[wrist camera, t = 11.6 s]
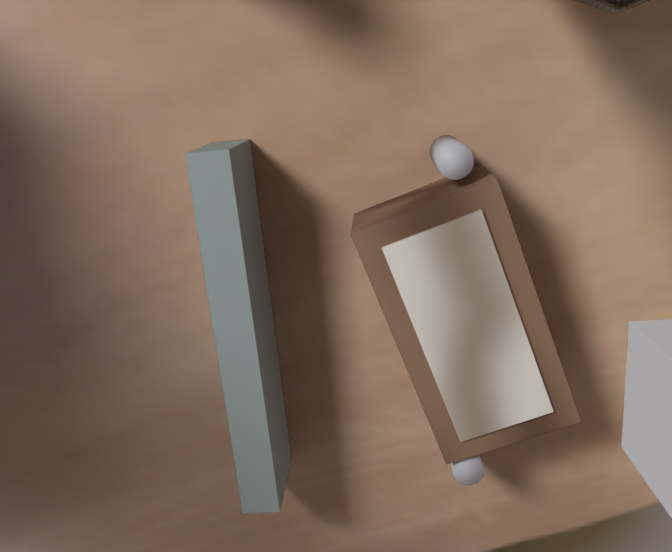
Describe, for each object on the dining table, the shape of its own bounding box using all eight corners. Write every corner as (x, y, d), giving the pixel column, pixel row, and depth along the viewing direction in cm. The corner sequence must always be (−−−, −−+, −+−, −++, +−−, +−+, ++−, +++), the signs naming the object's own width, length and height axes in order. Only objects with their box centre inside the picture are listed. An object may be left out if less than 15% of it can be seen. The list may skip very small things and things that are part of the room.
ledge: (259, 460, 39) (242, 513, 34) (211, 142, 34) (184, 153, 29) (472, 449, 38) (486, 503, 33) (460, 119, 32) (474, 126, 28)
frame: (437, 415, 38) (447, 466, 33) (354, 212, 34) (350, 235, 30) (554, 376, 37) (582, 423, 32) (479, 163, 33) (497, 178, 28)
